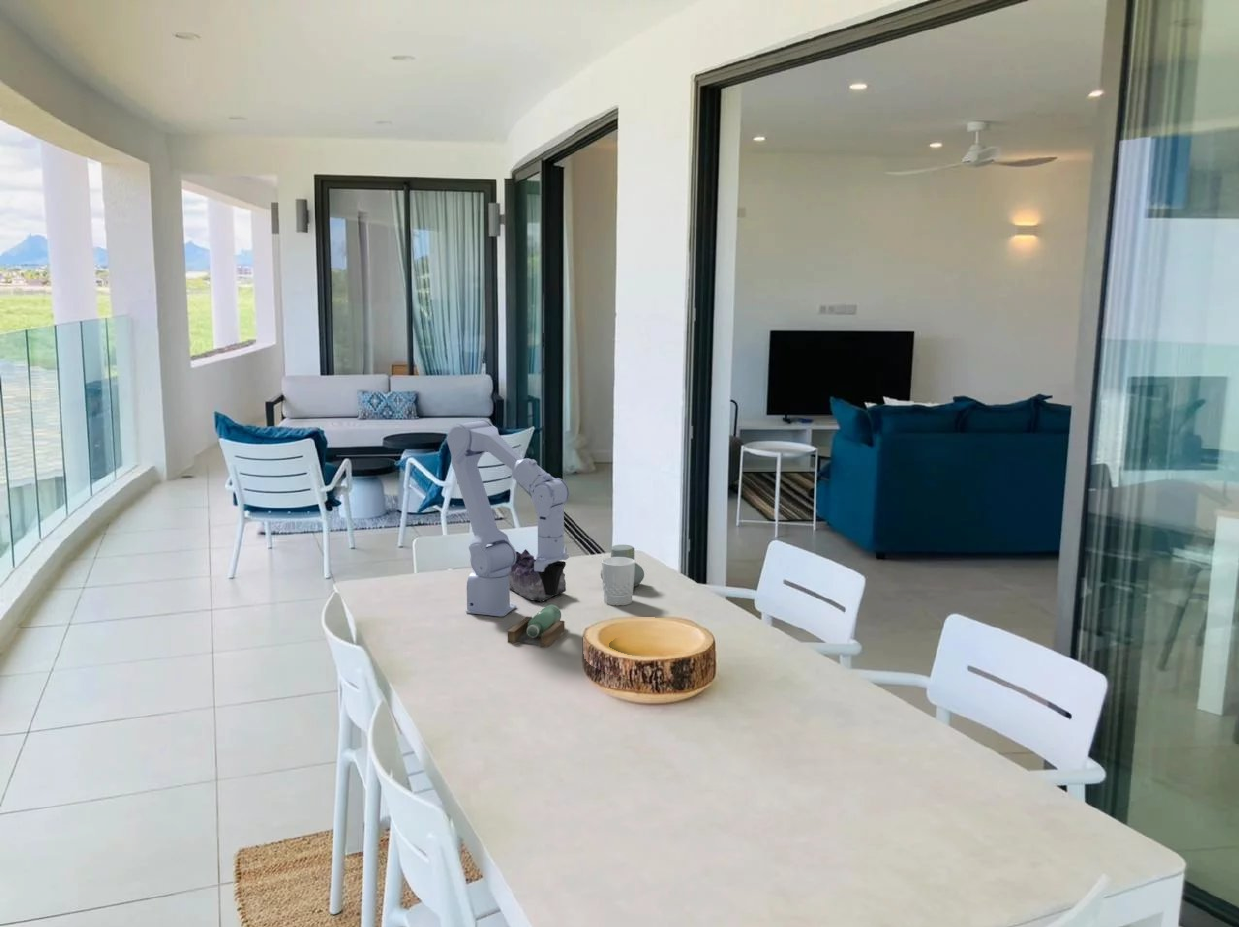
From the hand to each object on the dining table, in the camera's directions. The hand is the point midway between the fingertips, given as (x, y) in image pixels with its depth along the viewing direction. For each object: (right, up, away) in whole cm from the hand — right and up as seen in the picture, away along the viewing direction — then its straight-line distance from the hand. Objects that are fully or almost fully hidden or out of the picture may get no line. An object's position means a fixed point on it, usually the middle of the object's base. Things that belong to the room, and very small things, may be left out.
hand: (550, 594), depth 223 cm
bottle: (0, -4, +1) cm, 4 cm away
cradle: (-3, -8, -7) cm, 11 cm away
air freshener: (+16, -2, +31) cm, 35 cm away
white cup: (+15, -4, +18) cm, 24 cm away
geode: (-7, -3, +26) cm, 27 cm away
